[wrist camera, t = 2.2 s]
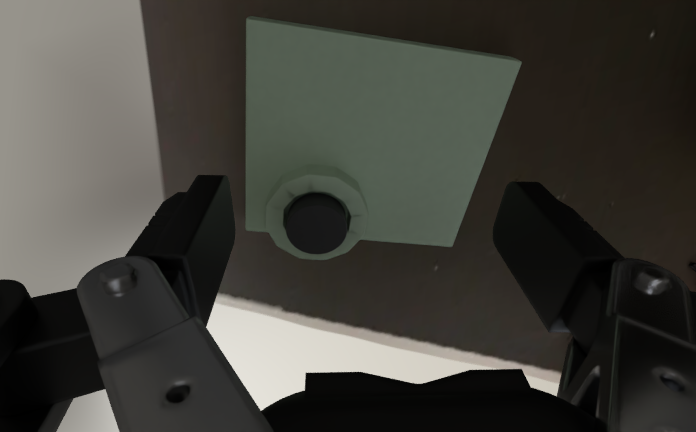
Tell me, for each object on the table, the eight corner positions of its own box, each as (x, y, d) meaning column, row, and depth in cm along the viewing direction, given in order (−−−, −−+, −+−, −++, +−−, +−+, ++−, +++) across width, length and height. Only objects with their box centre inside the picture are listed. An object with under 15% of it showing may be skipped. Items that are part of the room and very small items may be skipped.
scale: (248, 230, 29) (241, 254, 27) (249, 15, 21) (240, 21, 19) (443, 246, 31) (454, 270, 29) (512, 56, 23) (535, 67, 21)
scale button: (285, 238, 27) (284, 252, 25) (289, 189, 24) (287, 202, 23) (341, 243, 27) (342, 256, 26) (349, 195, 25) (351, 208, 24)
